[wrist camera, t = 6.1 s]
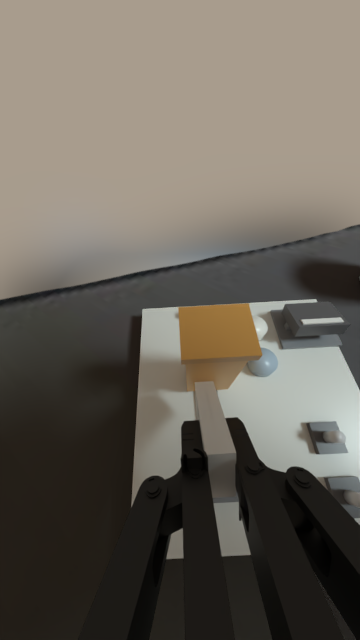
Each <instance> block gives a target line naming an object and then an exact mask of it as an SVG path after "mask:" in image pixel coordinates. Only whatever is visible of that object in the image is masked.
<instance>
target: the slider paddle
mask: <svg viewBox="0 0 360 640" xmlns="http://www.w3.org/2000/svg"><path fill="white" fill-rule="evenodd" d="M178 311H179V331H180V352H181V365H183V364H185V366H186V383H187V391H195V383H194V382H207V381H213V382H214V385H215V388H216V390H224V389H228V388H229V387H230V386H231V384H232V383H233V382H234V380H235V379H236V377H237V376H238V375H239V373H240V372H241V371H242V369H243V368H244V366H245V365H246V364H247V362H248V361H255V360H259V359H260V358H261V357H262V351H261V348H260V344H259V340H258V336H257V333H256V329H255V325H254V321H253V318H252V314H251V310H250V306H249V303H245V304H227V305H210V306H192V307H178Z"/></svg>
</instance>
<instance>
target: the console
mask: <svg viewBox="0 0 360 640" xmlns="http://www.w3.org/2000/svg"><path fill="white" fill-rule="evenodd" d="M313 302H317V301H316V299H311V300H293V301H276V302H259V303H249V306H250V310H251V314H252V318H253V321H254V325H255V329H256V333H257V336H258V340H259V344H260V348H261V351H262V357H261V358H260V359H259V360H255V361H248V362H247V364H246V365H245V366H244V368H243V369H242V371H241V372H240V373H239V375H238V376H237V377H236V379H235V380H234V382H233V383H232V384H231V386H230V387H229V388H228V389H224V390H216V391H217V394H218V397H219V401H220V404H221V407H222V410H223V413H224V416H225V418H234V417H238V418H239V419H240V420H241V421H242V422H243V423H244V426H245V428H246V431H247V432H248V435H249V437H250V439H251V442H252V444H253V446H254V449H255V451H256V453H257V456H258V458H259V459H260V460H261V461H262V462H263V463H264V464H265V465H266V466H267V467H269V468H271V469H274V470H277V471H281V472H285V473H286V471H287V469H288V468H290V467H294V466H297V467H302V468H304V469H306V470H308V471H309V472H310V473H312V474H313V475H314V476H315V477H316V478H317V479H318V481H319V482H320V483H321V484H322V485H323V486H324V487H325V488H326V489H327V490H328V491H329V492H330V493H331V495H332V496H333V497H334V498H335V499H336V500H337V501H338V502H339V503H340V504H341V505H342V506H343V507H344V509H345V510H346V511H347V512H348V513H349V514H350V515H351V516H352V517H353V518H354V519H355V520H356V521H357V523H358V524H359V525H360V390H359V388H358V386H357V384H356V382H355V380H354V378H353V376H352V374H351V372H350V370H349V367H348V365H347V363H346V361H345V359H344V357H343V355H342V353H341V351H340V349H339V346H342V343H341V341H340V339H339V337H338V334H333V335H315V336H297V337H295V336H294V334H293V333H292V331H291V329H290V327H289V326H288V324H287V322H286V321H285V319H284V317H283V315H282V314H281V313H282V310H283V308H284V305H285V304H295V303H313ZM241 304H245V303H241ZM224 305H227V304H224ZM206 306H210V305H206ZM189 307H192V306H189ZM194 420H197V416H196V403H195V391H187V383H186V366H185V364H183V365H181V352H180V331H179V311H178V307H172V308H154V309H143V313H142V330H141V347H140V364H139V381H138V399H137V416H136V433H135V450H134V467H133V484H132V502H131V507H132V505H133V502H134V500H135V497H136V495H137V492H138V490H139V487H140V486H141V484H142V482H143V481H144V480H145V479H147V478H148V477H151V476H160V477H163V478H164V480H165V479H168V478H170V477H172V476H174V475H175V474H176V473H177V472H178V471H179V470H180V468H181V454H182V449H181V426H182V424H183V422H184V421H194ZM213 503H214V510H215V516H216V522H217V529H218V535H219V542H220V548H221V554H222V556H240V555H251V553H250V549H249V545H248V542H247V538H246V534H245V530H244V526H243V522H242V518H241V521H239V498H238V494H237V491H236V497H219V498H213ZM178 558H183V528H182V529H180V530H178V531H176V532H174V533H172V534H171V538H170V543H169V548H168V552H167V557H166V559H178Z"/></svg>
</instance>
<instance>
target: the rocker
mask: <svg viewBox="0 0 360 640" xmlns="http://www.w3.org/2000/svg"><path fill="white" fill-rule="evenodd" d="M281 314H282V315H283V317H284V319H285V321H286V322H287V324H288V326H289V327H290V329H291V331H292V333H293V334H294V336H295V337H297V336H315V335H333V334H344V332H345V331H346V330H347V328H348V327H349V326H350V323H349V322H348V321H347V320H346V319H345V318H344V317H343V316H342V314H341V313H340V312H339V311H338V310H337V309H336V308H335V307H334V305H333V304H332V303H331V302H313V303H295V304H285V305H284V308H283V310H282V313H281Z"/></svg>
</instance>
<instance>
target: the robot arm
mask: <svg viewBox="0 0 360 640" xmlns="http://www.w3.org/2000/svg"><path fill="white" fill-rule="evenodd" d="M194 383H195V403H196V416H197V420H194V421H184V422H183V424H182V426H181V449H182V454H181V468H180V470H179V471H178V472H177V473H176V474H175V475H174V476H172V477H170V478H168V479H165V480H164V478H163V477H160V476H151V477H148V478H147V479H145V480H144V481H143V482H142V484H141V486H140V487H139V490H138V492H137V495H136V497H135V500H134V502H133V505H132V507H131V510H130V512H129V515H128V517H127V520H126V522H125V525H124V527H123V529H122V532H121V534H120V537H119V539H118V542H117V544H116V547H115V549H114V552H113V554H112V557H111V559H110V562H109V564H108V567H107V569H106V572H105V574H104V576H103V579H102V581H101V584H100V586H99V589H98V591H97V594H96V596H95V599H94V601H93V604H92V606H91V609H90V611H89V614H88V616H87V618H86V621H85V623H84V626H83V628H82V631H81V633H80V636H79V638H78V640H149V636H150V632H151V627H152V622H153V618H154V613H155V608H156V604H157V599H158V594H159V590H160V585H161V580H162V576H163V571H164V566H165V562H166V557H167V552H168V548H169V543H170V538H171V534H172V533H174V532H176V531H178V530H180V529H182V528H183V562H184V608H185V640H235V638H234V631H233V625H232V618H231V612H230V606H229V599H228V593H227V586H226V580H225V574H224V567H223V561H222V554H221V548H220V542H219V535H218V529H217V522H216V516H215V510H214V503H213V498H219V497H236V491H237V494H238V498H239V521H241V518H242V522H243V526H244V530H245V534H246V538H247V542H248V545H249V549H250V553H251V557H252V561H253V565H254V569H255V573H256V577H257V581H258V585H259V588H260V592H261V596H262V600H263V604H264V608H265V612H266V616H267V620H268V624H269V628H270V631H271V635H272V639H273V640H344V638H343V636H342V634H341V632H340V629H339V627H338V625H337V623H336V621H335V618H334V616H333V614H332V612H331V609H330V607H329V605H328V603H327V601H326V598H325V596H324V594H323V592H322V589H321V587H320V585H319V583H318V580H317V578H316V576H315V574H316V575H317V577H318V579H319V580H320V582H321V583H322V585H323V587H324V588H325V590H326V591H327V593H328V595H329V596H330V598H331V599H332V601H333V602H334V604H335V606H336V607H337V609H338V610H339V612H340V614H341V615H342V617H343V618H344V620H345V622H346V623H347V625H348V626H349V628H350V629H351V631H352V633H353V634H354V636H355V637H356V639H357V640H360V525H359V524H358V523H357V521H356V520H355V519H354V518H353V517H352V516H351V515H350V514H349V513H348V512H347V511H346V510H345V509H344V507H343V506H342V505H341V504H340V503H339V502H338V501H337V500H336V499H335V498H334V497H333V496H332V495H331V493H330V492H329V491H328V490H327V489H326V488H325V487H324V486H323V485H322V484H321V483H320V482H319V481H318V479H317V478H316V477H315V476H314V475H313V474H312V473H310V472H309V471H308V470H306V469H304V468H302V467H297V466H294V467H290V468H288V469H287V471H286V473H285V472H281V471H277V470H274V469H271V468H269V467H267V466H266V465H265V464H264V463H263V462H262V461H261V460H260V459H259V458H258V456H257V453H256V451H255V449H254V446H253V444H252V442H251V439H250V437H249V435H248V432H247V431H246V428H245V426H244V423H243V422H242V421H241V420H240V419H239V418H238V417H234V418H225V416H224V413H223V410H222V407H221V404H220V401H219V397H218V394H217V391H216V388H215V385H214V382H213V381H207V382H194ZM313 571H314V572H315V574H314V572H313Z"/></svg>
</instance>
